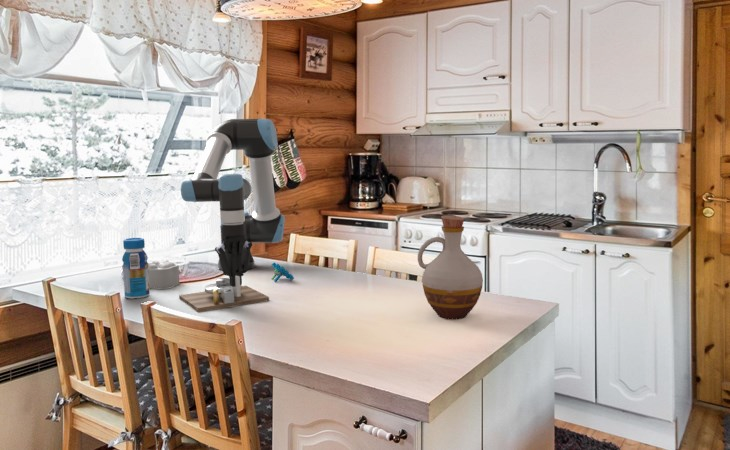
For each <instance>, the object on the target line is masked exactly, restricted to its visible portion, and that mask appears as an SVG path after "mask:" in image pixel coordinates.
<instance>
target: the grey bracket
mask: <svg viewBox="0 0 730 450" xmlns="http://www.w3.org/2000/svg"><path fill="white" fill-rule="evenodd" d="M215 280H216V281H215V282H216V283H211V284H207V285H205V286H204V292H206V293H209V294H213V290H218V294H221V298H222V300H223V302H224V303H234V291H233V290H232V287H231V286H230V279H229V277H220V278H216V279H215ZM242 286H243V285H240V290H241V289H242Z"/></svg>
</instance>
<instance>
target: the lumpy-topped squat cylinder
mask: <svg viewBox="0 0 730 450" xmlns="http://www.w3.org/2000/svg"><path fill="white" fill-rule="evenodd" d="M147 263H148V265H149V267H148V273H149V289H159V290H163V289H164V290H165V289H171V288H173V287H176V286H179V285H180V266H179V264H177V263H174V262H172V261H169V260H162V261H161V262H159V261H157V260H155V261H151V262H147Z"/></svg>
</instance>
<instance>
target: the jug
mask: <svg viewBox="0 0 730 450" xmlns="http://www.w3.org/2000/svg"><path fill="white" fill-rule="evenodd" d="M440 218H441V222H442V226H441V231H442V232H443V236H444V238H443V237H442V236H441V237H440V236H435V237H431V238H429V239H427V240H426V241H424V243H423V244H421V247H420V248H419V250H418V252H417V262H418V265H419V267H420V268H422V269H424V270H423V272H422V278H421V282H422V283H421V284H422V288H423V292H424V296H425V298H426V301H427V303H428V304H429V305H430V307H431V309H432V311H434V313H436V315H438V317H439V318H441V319H444V320H451V321H453V320H454V321H455V320H463V319H465V318H466V317H467V316H468V315H469V314H470V313H471V311H472V310H473V309H474V308H475V306H476V305H477V303H478V301H479V298H480V296H481V293H482V289H483V283H484V278H483V274H482V273H483V272H481V270H480V267H479V266H478V265H477V264H476V263H475V262H474V261H473V260H472V259H471V258H469V256H468V255H467V254H466V253H465V252H464V250H462V248H461V247H462V246H461V244H462V243H461V241H462V234H463V232H464V229H465V226H463V225H464V221H465V217H462V216H457V215H441V217H440ZM433 243H440V244H442V251H441V252H440V253H439V254H438V255H437V256H436V257H435V258H434V259H433V260H431V261H430V262H428V263H424V260H423V254H424V253H425V251H426V249H427V248H428V247H429V246H430V245H431V244H433Z"/></svg>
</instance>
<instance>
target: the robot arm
mask: <svg viewBox="0 0 730 450" xmlns="http://www.w3.org/2000/svg"><path fill="white" fill-rule="evenodd" d="M277 148H278V135H277V130H276V126H275V123H274V122H273V121H272V120H271V119H270V118H269V119H268V118H261V117H260V118H238V119H237V118H231V119H227V120H223V122H221V123H219V124H217V125H216V126H215V127H214V128H213V129H211V131H210V132H209V133H208V135H207V137H206V139H205V148H204V152H203V153H202V156H201V158H200V161H199V163H198V165H197V167H196V169H195V172H194V174H193V176H192V178H186V179H183V180H182V181H181V184H180V195H181V199H182V200H183V201H185V202H192V203H199V202H200V203H202V202H203V203H205V202H206V203H208V202H219V212H220V215H219V216H220V226H219V227H220V242H221V243H220V245H219V246H216V247H215V248H214V251H215V252H216V254H217V256H218V260H217V261H218V262H217V269H218V268H219V269H221V270H220V271H222V274H223V275H224V276H227V277H228V278H229V279H230V286H231V287H232V290H233V291H234V296H235V297H239V296H241V291H240V285H241V286H243V285H242V284H243V279H242V278H243V276H244V275H245V274H246V273H247V272H248V270H251V269H253V268H255V265H256V264H255V260H254V257H253V254H252V250H251V249H252V246H253V244H260V243H261V244H263V243H264V244H265V243H266V244H267V243H268V244H274V243H275V244H276V243H281V242H282V240H283V238H284V231H285V223H286V221H285V220H286V217H285V214H281V210H280V208H278V207H277V206H276V197H275V188H274V186H275V185H274V177H273V176H274V175H273V169H272V167H273V166H272V156H273V155H274V153H275V150H276V149H277ZM234 150H235V151H236V150H238V151H239V150H241V151H243V155H244V157H246V158H248V165H249V172H250V180H251V183H250V182H249V181H248V179H246V178H245V177H243V175H242V174H240V173H226V174H225V173H224V174H220V175H219V173H220V172H221V169H222V166H223V163H224V160H225V158H226V156H227V155H228V154H229V153H230V152H231V151H234ZM251 194H252V196H253V197H252V198H253V205H254V209H253V211H252V212H251V215H250V213H249V212H248V211H245V201H246V200H247V199H248V198H249V197H250V195H251ZM219 269H218V270H219Z"/></svg>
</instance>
